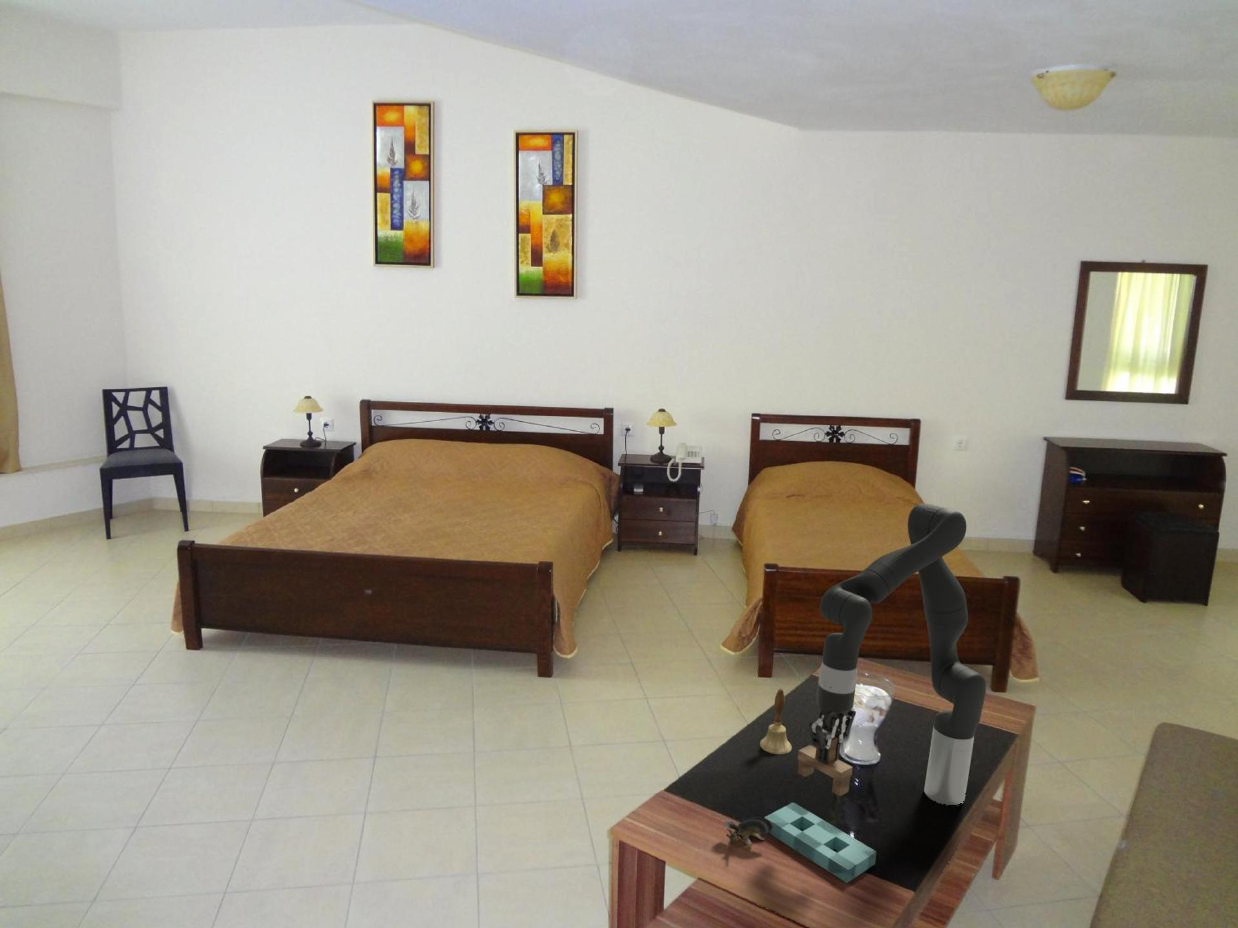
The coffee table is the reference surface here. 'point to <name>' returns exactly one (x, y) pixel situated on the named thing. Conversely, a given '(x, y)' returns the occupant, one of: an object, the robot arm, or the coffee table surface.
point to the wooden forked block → (826, 766)
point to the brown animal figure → (748, 829)
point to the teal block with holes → (821, 842)
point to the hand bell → (777, 730)
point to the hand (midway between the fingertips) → (827, 759)
